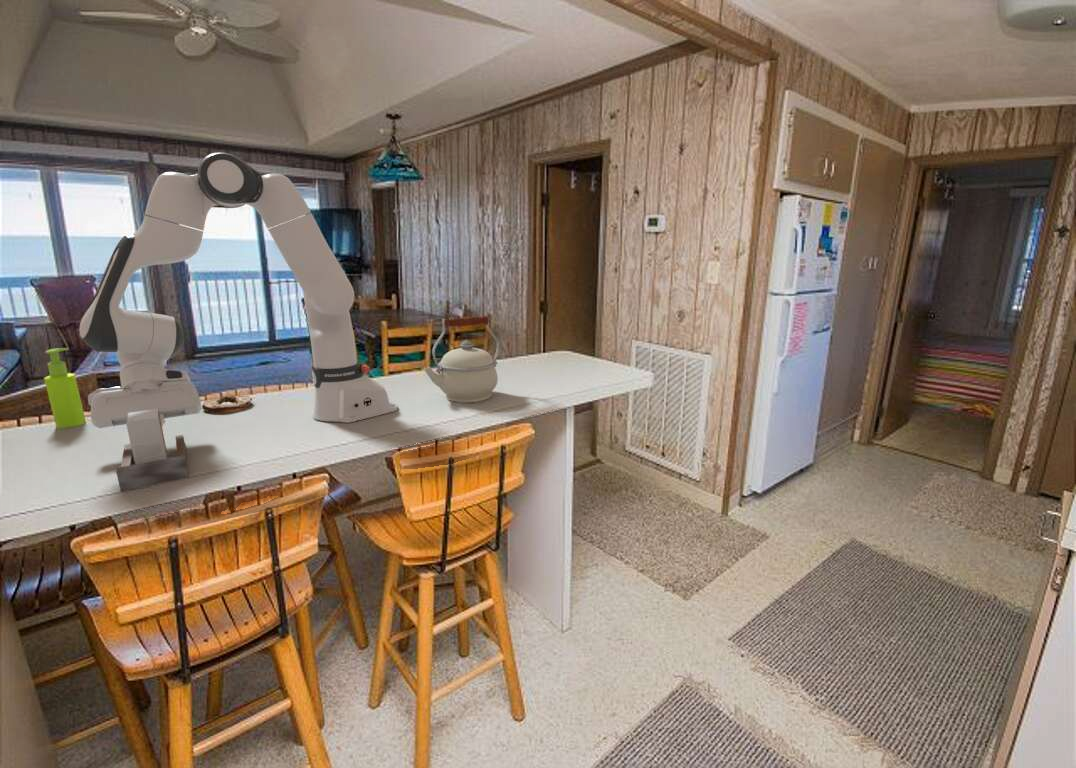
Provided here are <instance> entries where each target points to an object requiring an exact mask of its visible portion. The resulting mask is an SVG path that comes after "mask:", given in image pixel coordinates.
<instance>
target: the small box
mask: <svg viewBox="0 0 1076 768" xmlns="http://www.w3.org/2000/svg"><path fill="white" fill-rule="evenodd" d="M125 425H126V430H127V433H128V437H129V444H131V448H132V452H133V457H134V465H136V464H141V463H146V462H152V461H157V460H162V459H168V450H167V446H166V441H165V436H164V431H163V430H164V429H163V426H162V424H161V419H160V414H159V409H152V410H145V411H138V412H131V413H128V417H127V422H126V424H125Z"/></svg>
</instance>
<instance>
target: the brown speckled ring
mask: <svg viewBox="0 0 1076 768" xmlns="http://www.w3.org/2000/svg"><path fill="white" fill-rule="evenodd" d="M251 401H253V398H252V397H251V396H248V395H239V394H238V395H233V394H227V395H225V396H222V397H218V398H214V399H211V400H208V401H204V402H203V404H201V408H202V410H203V412H205V413H206V414H207V413H208V414H214V416H216V415H221V414H222V415H224V414H231V413H237V412H240V411H243V410H247V409H249V408H250V407H251V406H252V405H253V403H252V402H251Z"/></svg>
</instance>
